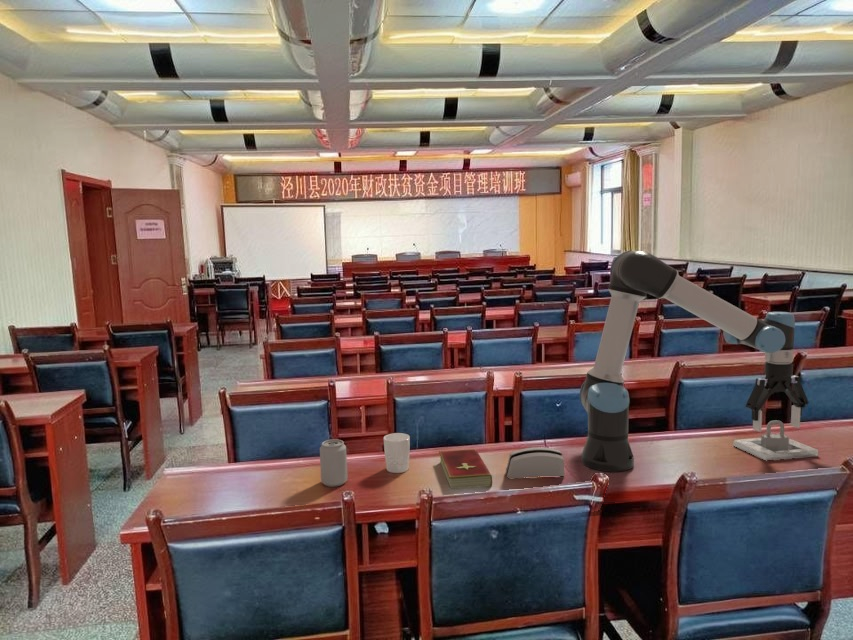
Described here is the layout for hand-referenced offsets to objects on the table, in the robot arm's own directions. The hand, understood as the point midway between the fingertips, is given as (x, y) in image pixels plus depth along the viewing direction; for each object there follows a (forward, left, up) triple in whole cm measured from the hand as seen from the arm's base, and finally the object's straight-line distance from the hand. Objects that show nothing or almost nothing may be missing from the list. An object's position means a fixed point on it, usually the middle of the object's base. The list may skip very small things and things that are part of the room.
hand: (776, 428), depth 180 cm
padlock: (0, 0, -8) cm, 8 cm away
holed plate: (0, 0, -7) cm, 7 cm away
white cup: (-118, +13, -8) cm, 119 cm away
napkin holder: (-80, -2, -8) cm, 81 cm away
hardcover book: (-99, +5, -8) cm, 100 cm away
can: (-137, +7, -8) cm, 138 cm away
